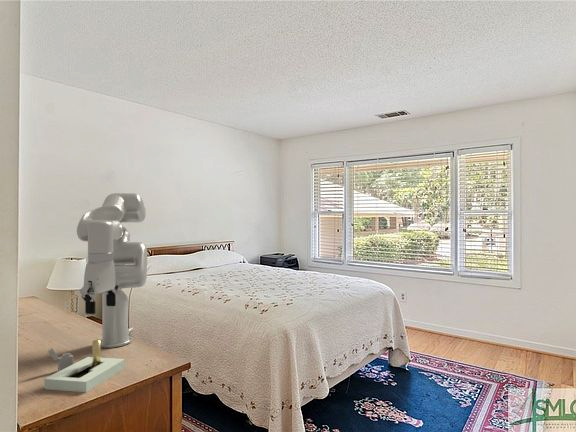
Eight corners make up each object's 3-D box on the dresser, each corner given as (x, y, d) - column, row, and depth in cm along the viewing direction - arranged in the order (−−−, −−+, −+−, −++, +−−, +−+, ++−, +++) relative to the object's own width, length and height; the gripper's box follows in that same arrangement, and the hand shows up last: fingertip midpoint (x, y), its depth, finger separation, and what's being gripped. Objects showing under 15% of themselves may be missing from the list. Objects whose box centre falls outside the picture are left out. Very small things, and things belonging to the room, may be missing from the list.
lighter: (72, 367, 124) (72, 343, 124) (73, 369, 122) (73, 345, 123) (47, 372, 120) (47, 348, 120) (47, 374, 118) (48, 349, 118)
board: (88, 365, 125) (88, 356, 125) (125, 368, 123) (125, 359, 123) (44, 389, 108) (44, 378, 108) (86, 392, 105) (86, 381, 105)
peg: (95, 369, 122) (95, 338, 122) (106, 370, 121) (107, 338, 121) (85, 375, 117) (85, 342, 118) (97, 375, 117) (97, 343, 117)
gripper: (108, 254, 130) (108, 302, 130) (70, 261, 113) (71, 316, 113) (127, 255, 129) (127, 303, 129) (91, 261, 112) (92, 317, 112)
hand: (101, 309), depth 121 cm, fingers open, 9 cm apart
